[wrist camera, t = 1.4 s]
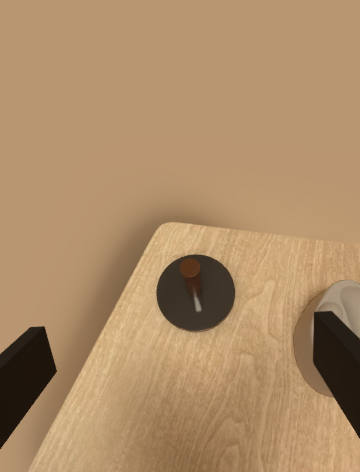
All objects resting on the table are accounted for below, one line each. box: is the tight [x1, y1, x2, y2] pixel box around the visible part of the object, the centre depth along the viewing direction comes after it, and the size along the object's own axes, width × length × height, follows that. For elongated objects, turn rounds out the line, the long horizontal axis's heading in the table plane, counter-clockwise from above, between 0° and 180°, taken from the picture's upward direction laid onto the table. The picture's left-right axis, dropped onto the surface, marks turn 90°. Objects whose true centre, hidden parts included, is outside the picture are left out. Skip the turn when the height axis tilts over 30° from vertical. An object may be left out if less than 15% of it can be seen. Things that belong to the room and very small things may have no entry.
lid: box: [157, 255, 235, 332], centre depth 35 cm, size 13×13×10 cm
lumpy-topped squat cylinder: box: [293, 280, 360, 397], centre depth 29 cm, size 10×13×9 cm
